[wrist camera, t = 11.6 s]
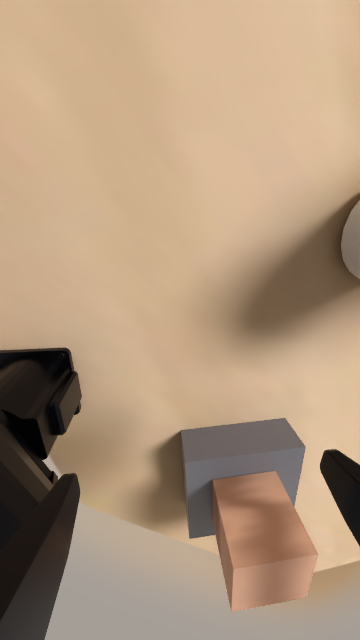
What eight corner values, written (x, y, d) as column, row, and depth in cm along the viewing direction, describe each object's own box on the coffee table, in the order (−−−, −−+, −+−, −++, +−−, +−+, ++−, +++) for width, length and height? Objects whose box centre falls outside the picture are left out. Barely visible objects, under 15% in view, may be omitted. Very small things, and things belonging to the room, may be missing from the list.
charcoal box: (184, 497, 28) (189, 538, 24) (180, 426, 24) (185, 462, 20) (273, 484, 28) (291, 522, 25) (282, 414, 25) (305, 446, 21)
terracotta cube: (212, 520, 23) (231, 612, 18) (212, 479, 21) (233, 569, 15) (270, 511, 24) (305, 597, 18) (275, 470, 21) (318, 554, 16)
